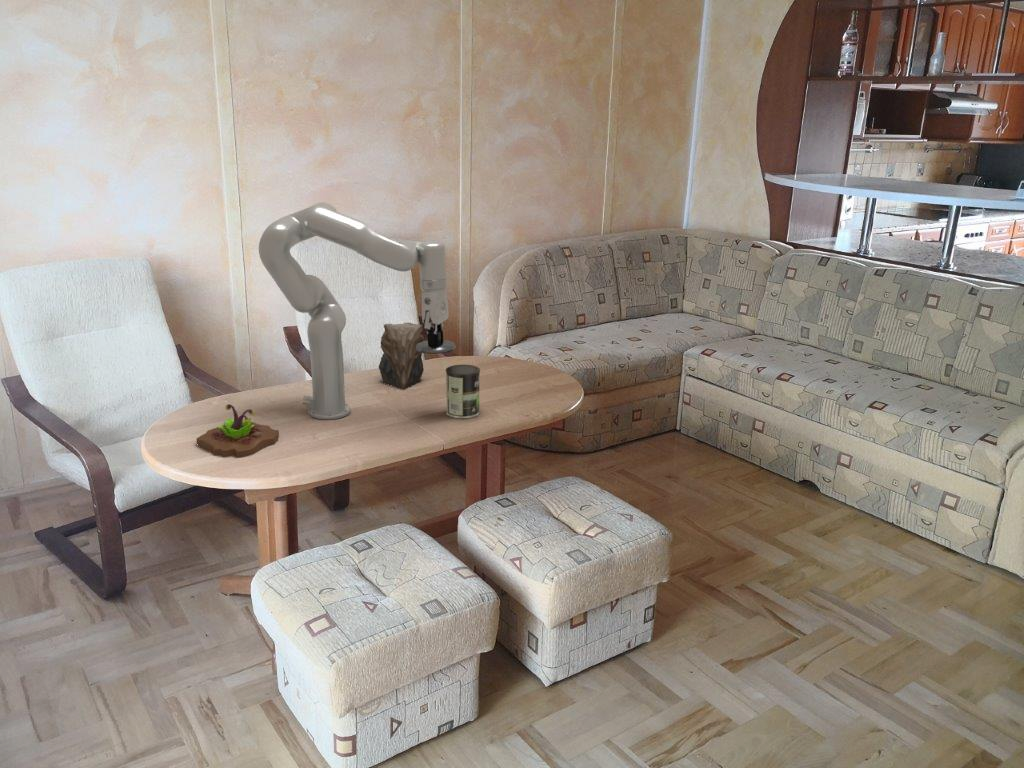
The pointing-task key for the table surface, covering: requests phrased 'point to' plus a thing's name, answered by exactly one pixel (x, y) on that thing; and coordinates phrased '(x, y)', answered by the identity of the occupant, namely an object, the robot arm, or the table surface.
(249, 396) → the table surface
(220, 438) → the plant
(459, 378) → the coffee can
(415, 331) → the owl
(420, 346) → the lid
